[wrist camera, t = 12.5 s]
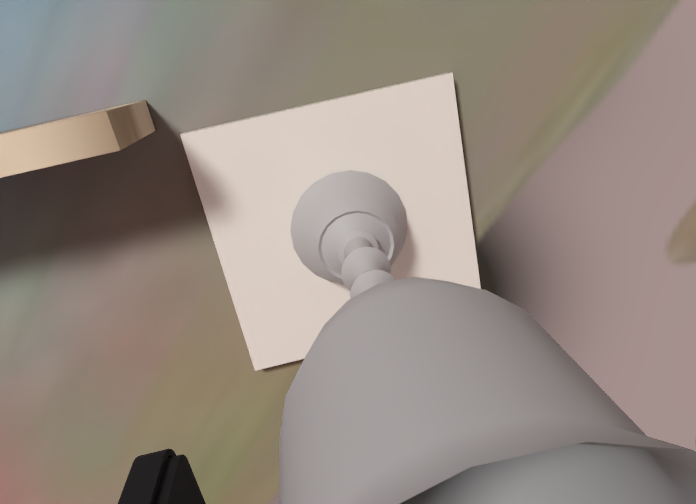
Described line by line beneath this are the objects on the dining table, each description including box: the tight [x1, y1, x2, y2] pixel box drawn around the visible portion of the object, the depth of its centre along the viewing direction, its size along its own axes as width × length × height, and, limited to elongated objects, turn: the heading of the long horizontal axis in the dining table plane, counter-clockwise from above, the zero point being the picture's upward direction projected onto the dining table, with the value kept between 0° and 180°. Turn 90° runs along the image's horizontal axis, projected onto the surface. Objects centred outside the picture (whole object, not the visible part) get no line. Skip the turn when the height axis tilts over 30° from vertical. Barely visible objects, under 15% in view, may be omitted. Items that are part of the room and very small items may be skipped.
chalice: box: [279, 170, 696, 504], centre depth 14 cm, size 7×7×18 cm
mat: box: [180, 72, 481, 371], centre depth 23 cm, size 11×11×1 cm
